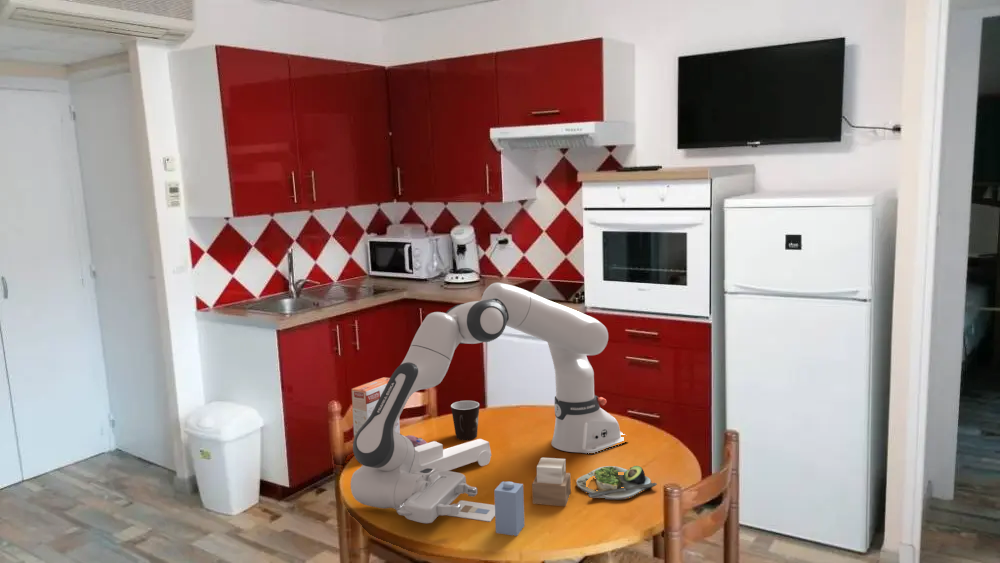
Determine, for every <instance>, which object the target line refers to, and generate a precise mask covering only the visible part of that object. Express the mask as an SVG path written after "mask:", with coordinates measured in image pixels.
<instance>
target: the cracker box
mask: <svg viewBox="0 0 1000 563" xmlns="http://www.w3.org/2000/svg"><path fill="white" fill-rule="evenodd" d="M390 378H391V377H386V376H385V377H381V378H378V379H375V380H373V381H370V382H366V383H363V384H361V385H358V386H355V387H353V388H351V401H352V402H351V404H352V405H351V406H352V424H353V439H354V438H355V435H356V434H357V432H358V430H359V429H360V428H361V427H362V426H363V424H364V423H365V422H366V421H367V420H368V418H369V417H370V415H371V414H372V412H373V410H374V408H375V406H376V404H377V402H378V400H379V398H380V397H381V395H382V393H383V391H384V389H385V387H386V385H387V383H388V381H389V379H390ZM400 422H401V421H400V418H399V419H398V421H397V423H396V425H395V432H398V433H400V434H401V429H400V428H401V427H400ZM354 458H355V457H354ZM355 460H357V459H356V458H355Z"/></svg>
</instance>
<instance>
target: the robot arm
mask: <svg viewBox="0 0 1000 563" xmlns="http://www.w3.org/2000/svg"><path fill="white" fill-rule="evenodd" d="M506 327H509V328H510V329H511V328H512V329H514V330H516V331H519V332H521V333H524V334H525V335H526V334H527V335H528V336H532V337H534V338H537V339H539V340H542V341H544V342H547V344H548V348H549V352H550V355H551V359H552V363H553V370H554V378H555V396H554V416H555V421H554V422H555V423H554V429H553V436H552V439H551V442H550V443H551V446H552V447H553V448H555V449H557V450H560V451H564V452H568V453H580V454H581V453H582V454H587V453H588V455H590V454H589V453H594V454H596V453H595V452H597V453H599V452H598V451H600V450H603V449H605V448H608V447H611V446H613V445H615V444H617V443H620V442H622V441H624V437H621V435H626V434H625V433H624V434H623V432H622V431H621V430H620V429H621V428H620V424H619V422H618V421H617V419H616V418H615V417H614V416H613V415H612V414H610V413H609V412H607V411H606V410H604V409H603V408H601V406H605V405H606V404H607V399H606V398H604V397H602V396H600V397H599V396H598V395H596V394H595V372H594V369H593V367H592V365H591V363H590V361H589V359H588V357H587V356H596V355H599V354H601V353H602V352H603V351H604V350H605V348H606V347H607V345H608V341H609V332H608V328H607V327H606V326H605V325H604V324H603V323H602V322H601V321H599V320H598V319H597V318H595V317H593V316H590V315H587V314H586V313H583V312H580V311H577V310H576V309H573V308H570V307H568V306H565V305H564V304H559V303H557V302H556V301H555V302H554V301H552V300H549V299H548V298H544V297H543V296H541V295H538V294H536V293H533V292H532V291H529V290H526V289H525V288H521V287H518V286H515V285H512V284H507V283H503V282H493V283H491V284H490V285H488V286H487V287H486V288H485V289H484V292H483V293H482V296H481V299H480V300H474V301H468V302H465V303H461V304H456V305H454V306H453V307H451V308H449V309H448V310H447V311H446V312H443V311H442V312H441V311H434V312H430V313H428V314H427V315H426V316H425V318H424V320H422V322H421V324H420V326H419V328H418V329H417V331H416V333H415V335H414V337H413V339H412V341H411V343H410V346H409V349H408V351H407V353H406V355H405V357H404V359H403V360H402V362H401V363H400V365H399V366H397V368H395V370H394V372H392V374H391V376H390V377H389V378H390V379H389V381H388V383H387V385H386V387H385V389H384V391H383V393H382V395H381V397H380V398H379V400H378V402H377V404H376V406H375V408H374V410H373V412H372V414H371V415H370V417H369V418H368V420H367V421H366V422H365V423H364V424H363V426H362V427H361V428H360V429H359V430H358V432H357V434H356V435H355V438H354V437H353V442H352V451H353V455H354V458H356V459H355V460H356V461H357V462H358V463H359V464H361V467H359V468H358V469H357V470H355V471H354V472H353V473H352V476H351V479H350V489H351V494H352V496H353V499H355V500H356V501H357V502H358V503H360V504H362V505H366V506H368V507H373V508H379V509H394V510H396V513H397V514H398V515H399V516H404V517H405V519H407V520H410V521H412V522H413V521H414V522H416V523H422V524H432V523H433V522H434V521H435V520H436V519H437V517H439V516H448V514H458V513H459V512H460V511H461V509H460V508H461V506H460V505H459V504H458V503H453V502H454V501H455V500H456V499H457V498H458V497H459V496H460V495H461V494H467V496H468V497H472V498H473V497H476V496H477V494H478V488H477V487H476V486H471V485H469V484H468V483H467V480H466V479H467V478H466V475H465V474H463V473H461V472H456V471H452V470H449V471H444V470H439V471H436V470H435V468H431V467H429V468H426V469H424V470H421V471H418V472H413V473H409V472H410V470H411V467H412V464H413V461H414V457H415V448H414V445H413V443H412V442H411V440H410V439H408V438H407V437H405V436H406V435H403V434H401V432H400V433H398V432H395V425H396V423H397V421H398V419H399V420H400V416H401V414H402V413H403V410H404V408H405V406H406V404H407V402H408V400H409V399H410V397H411V396H412V395H414V393H416V392H418V391H420V390H428V389H431V388H434V387H436V386H438V385H439V384H441V382H443V379H444V378H445V376H446V374H447V373H448V370H449V369H450V368H449V367H450V364H451V362H452V360H453V357H454V353H455V350H456V349H457V347H458V346H459V344H461V345H462V344H469V345H470V344H471V345H474V344H475V345H476V344H480V343H481V344H482V343H489V342H492V341H494V340H496V339H498V338H499V337H500V336H501V335H502V334H503V333H504V331H505V329H506ZM600 405H601V406H600ZM603 451H604V450H603ZM600 452H601V451H600Z"/></svg>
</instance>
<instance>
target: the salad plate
mask: <svg viewBox="0 0 1000 563" xmlns="http://www.w3.org/2000/svg"><path fill="white" fill-rule="evenodd" d="M618 472H624V475H618ZM592 476H595V478H596V479H595V484H596V488H597V489H594V490H593V488H590V487H589V486H588V487H589V488H588V487H586V481H587V480H588V479H589V478H590V477H592ZM575 483H576V486H577V488H578V489H580V490H581V491H582V492H583V491H584V493H585V492H587V493H589V494H587V493H586V494H587V495H588V498H593V499H595V498H596V499H600V498H605V499H604V500H627V499H626V498H628V499H630V498H629V497H631V498H633V497H635V496H636V494H637V495H639V494H640V493H639V492H641V491H643V490H645V491H647V490H649V489H652V488H654V487H655V486H656V485H658V484H657V482H652V480H651V478H650V477H648V476H646V474H645V471H644V469H643V468H642V466H639V465H633V466H632V467H629V469H626V468H623V467H619V466H617V465H616V466H615V465H614V466H613V465H607V466H606V465H605V466H600V467H597V468H595V469H593V470H591V471H590V472H588V473H586V474H583V475H581V476H580V477H578V478H577V479H576V482H575ZM621 487H624V488H621ZM646 489H647V490H646ZM596 490H598V491H596ZM643 492H644V491H643ZM638 493H639V494H638ZM641 493H642V492H641ZM634 495H635V496H634ZM632 496H633V497H632Z"/></svg>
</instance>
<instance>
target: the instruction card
mask: <svg viewBox="0 0 1000 563" xmlns="http://www.w3.org/2000/svg"><path fill="white" fill-rule="evenodd" d="M457 504H459V505H460V506H461V508H460V509H461V511H460V512H459V513H458V514H448V515H447V516H449V517H455V518H461V519H462V518H463V519H470V520H475V521H476V520H477V521H481V522H488V523H491V521H493V519H494V517H495V504H489V503H482V502H476V501H475V502H474V501H468V500H459V501H458V502H457Z"/></svg>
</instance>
